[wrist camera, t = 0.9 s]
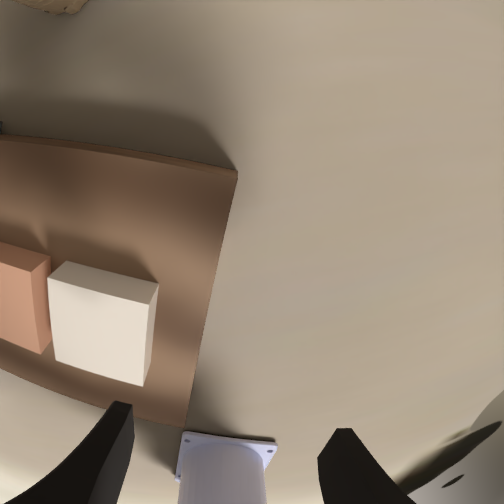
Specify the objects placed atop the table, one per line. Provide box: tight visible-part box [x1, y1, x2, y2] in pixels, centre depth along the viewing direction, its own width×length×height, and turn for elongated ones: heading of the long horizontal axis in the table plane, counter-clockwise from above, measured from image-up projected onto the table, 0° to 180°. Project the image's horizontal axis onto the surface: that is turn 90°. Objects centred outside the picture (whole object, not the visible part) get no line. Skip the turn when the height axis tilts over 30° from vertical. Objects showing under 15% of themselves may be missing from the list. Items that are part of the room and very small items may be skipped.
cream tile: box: [47, 261, 159, 387], centre depth 14 cm, size 5×5×2 cm
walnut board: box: [0, 134, 238, 428], centre depth 16 cm, size 16×15×3 cm
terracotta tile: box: [0, 242, 53, 354], centre depth 13 cm, size 5×5×2 cm
